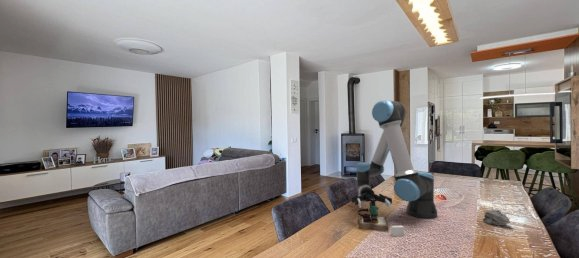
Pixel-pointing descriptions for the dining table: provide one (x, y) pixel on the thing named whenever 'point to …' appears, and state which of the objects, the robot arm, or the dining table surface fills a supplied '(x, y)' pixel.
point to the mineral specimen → (495, 217)
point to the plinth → (375, 224)
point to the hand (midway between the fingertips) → (374, 205)
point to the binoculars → (372, 211)
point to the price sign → (397, 230)
